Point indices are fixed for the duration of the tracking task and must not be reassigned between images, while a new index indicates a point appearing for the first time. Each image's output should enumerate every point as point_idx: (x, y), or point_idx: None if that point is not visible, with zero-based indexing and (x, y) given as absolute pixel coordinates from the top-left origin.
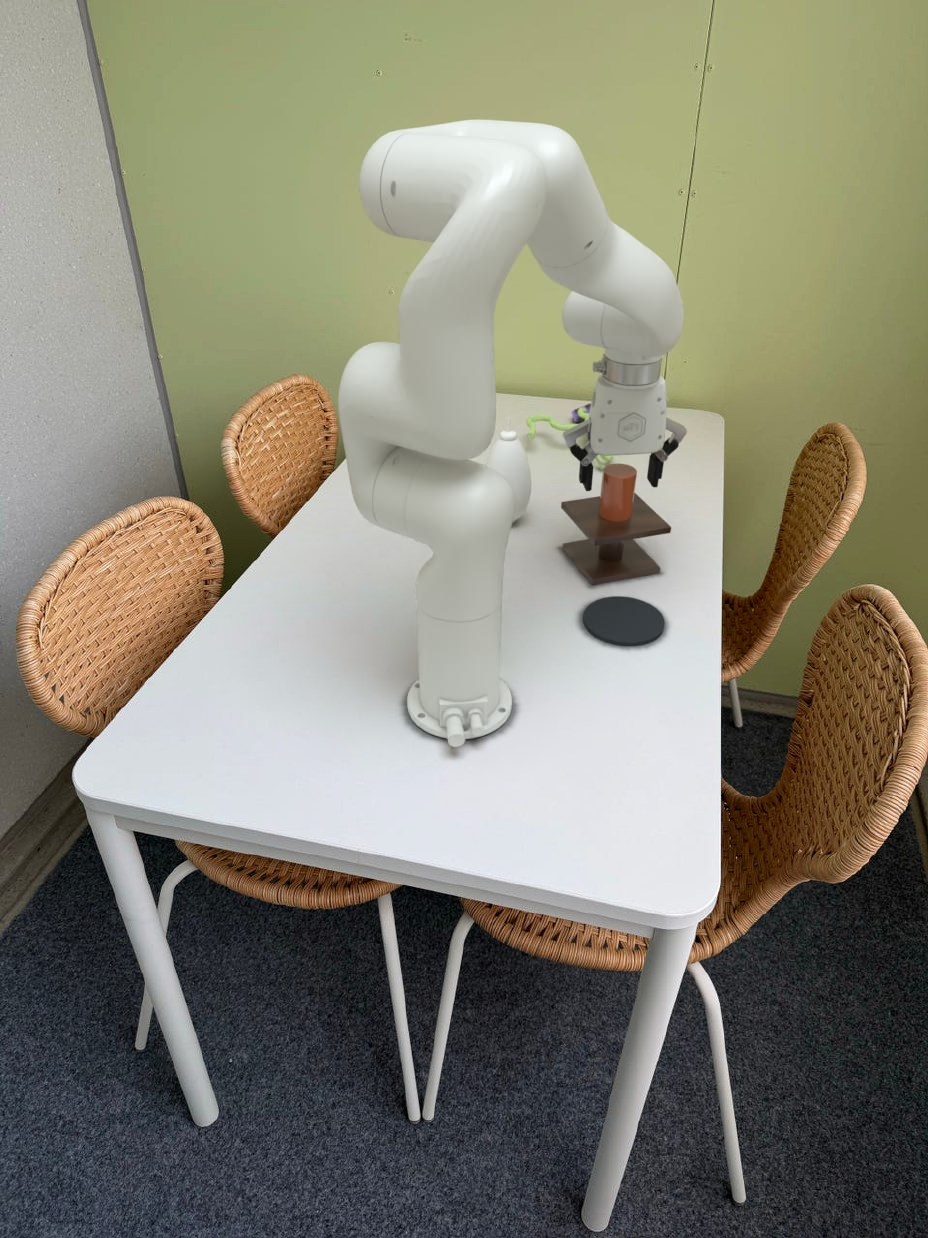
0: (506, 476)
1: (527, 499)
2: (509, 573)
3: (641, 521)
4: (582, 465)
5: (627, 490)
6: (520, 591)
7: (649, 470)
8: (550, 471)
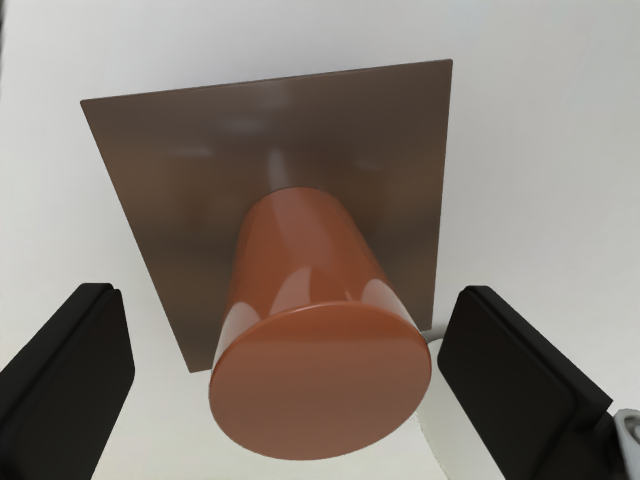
0: None
1: (439, 376)
2: (521, 171)
3: (212, 175)
4: (611, 418)
5: (292, 252)
6: (539, 89)
7: (107, 408)
8: (299, 475)
